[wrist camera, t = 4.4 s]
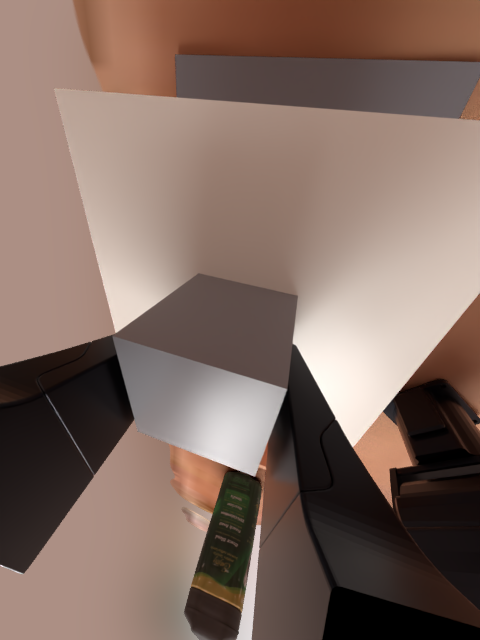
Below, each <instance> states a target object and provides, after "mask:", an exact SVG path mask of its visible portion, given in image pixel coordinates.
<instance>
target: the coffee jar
mask: <svg viewBox="0 0 480 640" xmlns="http://www.w3.org/2000/svg"><path fill="white" fill-rule="evenodd" d="M261 492H262V491H261V485H260V483H259V482H258V481H256V480H254V479H253V478H251V477H250V476H249V475H247V474H244V473H241V472H238V473H236V472H227V473H226V474H225V476H224V479H223V482H222V485H221V488H220V492H219V495H218V498H217V502H216V505H215V508H214V512H213V515H212V518H211V521H210V524H209V528H208V531H207V534H206V538H205V541H204V544H203V547H202V551H201V554H200V557H199V561H198V564H197V568H196V571H195V574H194V578H193V581H192V584H191V588H190V591H189V595H188V599H187V603H186V607H185V611H184V614H185V617H186V618H187V620H188V622H189V624H190V626H191V630H192V632H193V633H194V634H195V635H196V636H197V637H198V638H199V640H236V639H237V635H238V634H239V632H238V630H239V625H240V620H241V613H242V609H243V602H244V597H245V590H246V585H247V577H248V572H249V566H250V560H251V553H252V548H253V541H254V535H255V529H256V523H257V517H258V511H259V505H260V499H261Z"/></svg>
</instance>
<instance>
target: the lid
mask: <svg viewBox="0 0 480 640" xmlns="http://www.w3.org/2000/svg"><path fill="white" fill-rule="evenodd" d="M54 91H55V95H56V99H57V103H58V107H59V111H60V115H61V119H62V123H63V127H64V131H65V135H66V139H67V143H68V146H69V150H70V154H71V158H72V162H73V166H74V170H75V174H76V178H77V182H78V186H79V190H80V194H81V198H82V202H83V206H84V210H85V214H86V217H87V221H88V225H89V229H90V233H91V237H92V241H93V245H94V249H95V253H96V257H97V261H98V265H99V269H100V272H101V277H102V281H103V284H104V288H105V292H106V296H107V300H108V304H109V308H110V312H111V316H112V320H113V324H114V328H115V332H116V334H114V335H113V336H112V337H113V341H114V345H115V348H116V352H117V356H118V359H119V363H120V367H121V371H122V374H123V378H124V382H125V386H126V389H127V393H128V397H129V401H130V404H131V408H132V412H133V415H134V419H135V423H136V427H137V430H138V432H140V433H143V434H145V435H148V436H151V437H153V438H156V439H158V440H161V441H164V442H166V443H169V444H171V445H174V446H177V447H179V448H182V449H184V450H187V451H190V452H192V453H195V454H197V455H200V456H203V457H205V458H208V459H210V460H213V461H216V462H218V463H221V464H223V465H226V466H229V467H231V468H234V469H236V470H239V471H242V472H244V473H247V474H249V475H252V476H255V475H256V472H257V470H258V467H259V464H260V462H261V459H262V456H263V453H264V451H265V448H266V445H267V443H268V440H269V437H270V435H271V432H272V429H273V426H274V424H275V421H276V418H277V416H278V413H279V410H280V408H281V405H282V402H283V399H284V397H285V394H286V391H287V387H288V379H289V370H290V361H291V353H292V344H294V345H296V346H297V348H298V349H299V351H300V353H301V355H302V357H303V359H304V360H305V362H306V364H307V366H308V368H309V370H310V371H311V373H312V375H313V377H314V379H315V381H316V382H317V384H318V386H319V388H320V390H321V392H322V393H323V395H324V397H325V399H326V401H327V403H328V404H329V406H330V408H331V410H332V412H333V414H334V415H335V417H336V419H335V420H337V421H338V423H339V424H340V426H341V428H342V430H343V432H344V433H345V435H346V437H347V439H348V440H349V442H350V444H351V446H352V447H354V446H355V444H356V443H357V442H358V441H359V439H360V438H361V437H362V436H363V435H364V433H365V432H366V431H367V430H368V429H369V427H370V426H371V425H372V424H373V422H374V421H375V420H376V419H377V418H378V416H379V415H380V414H381V413H382V411H383V410H384V409H385V408H386V407H387V405H388V404H389V403H390V402H391V400H392V399H393V398H394V397H395V396H396V394H397V393H398V392H399V391H400V390H401V388H402V387H403V386H404V385H405V383H406V382H407V381H408V380H409V379H410V377H411V376H412V375H413V374H414V372H415V371H416V370H417V369H418V368H419V366H420V365H421V364H422V363H423V362H424V360H425V359H426V358H427V357H428V355H429V354H430V353H431V352H432V351H433V349H434V348H435V347H436V346H437V344H438V343H439V342H440V341H441V340H442V338H443V337H444V336H445V335H446V333H447V332H448V331H449V330H450V329H451V327H452V326H453V325H454V324H455V323H456V321H457V320H458V319H459V318H460V316H461V315H462V314H463V313H464V312H465V310H466V309H467V308H468V307H469V305H470V304H471V303H472V302H473V301H474V299H475V298H476V297H477V296H478V295H479V293H480V120H468V119H454V118H441V117H428V116H415V115H402V114H389V113H375V112H362V111H349V110H336V109H323V108H309V107H296V106H283V105H270V104H257V103H244V102H230V101H217V100H204V99H191V98H178V97H165V96H151V95H138V94H125V93H112V92H99V91H84V90H72V89H59V88H54Z"/></svg>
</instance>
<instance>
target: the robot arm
mask: <svg viewBox="0 0 480 640" xmlns="http://www.w3.org/2000/svg"><path fill="white" fill-rule="evenodd" d="M112 336H113V335H111V336H107V337H104V338H101V339H98V340H94V341H92V343H91V342H88V343H85V344H81V345H79V346H75V347H72V348H68V349H65V350H61V351H58V352H55V353H50V354H47V355H43V356H39V357H35V358H32V359H27V360H24V361H20V362H16V363H12V364H8V365H4V366H0V566H2V567H5V568H7V569H10V570H13V571H15V572H17V573H20V574H24V573H25V571H26V570H27V569H28V568H29V566H30V565H31V564H32V562H33V561H34V560H35V558H36V557H37V555H38V554H39V552H40V551H41V550H42V548H43V547H44V546H45V544H46V543H47V541H48V540H49V539H50V537H51V536H52V534H53V533H54V532H55V530H56V529H57V527H58V526H59V525H60V523H61V522H62V520H63V519H64V518H65V516H66V515H67V513H68V512H69V511H70V509H71V508H72V506H73V505H74V504H75V502H76V501H77V499H78V498H79V497H80V495H81V494H82V492H83V491H84V490H85V488H86V487H87V485H88V484H89V483H90V481H91V480H92V478H93V477H94V475H95V474H96V473H97V471H98V470H99V468H100V467H101V466H102V464H103V463H104V461H105V460H106V458H107V457H108V456H109V454H110V453H111V452H112V450H113V449H114V447H115V446H116V444H117V443H118V441H119V440H120V439H121V437H122V436H123V435H124V433H125V432H126V431H127V429H128V428H129V426H130V425H131V424H132V422H133V421H134V415H133V412H132V408H131V404H130V401H129V397H128V393H127V389H126V386H125V382H124V378H123V374H122V371H121V367H120V363H119V359H118V356H117V352H116V348H115V345H114V341H113V337H112ZM383 412H384V413H385V414H386V415H387V416H388V417H389V418H390V419H391V420H392V421H393V422H394V423H395V424H396V425H397V426H398V428H399V431H400V433H401V436H402V439H403V441H404V444H405V446H406V449H407V452H408V454H409V457H410V460H411V462H412V465H413V466H410V467H404V468H398V469H397V468H391V469H389V470H390V483H391V493H392V503H393V509H392V507H391V506H390V504H389V503H388V501H387V500H386V498H385V497H384V495H383V494H382V492H381V491H380V489H379V488H378V486H377V485H376V483H375V482H374V480H373V479H372V477H371V476H370V474H369V473H368V471H367V469H366V468H365V466H364V465H363V463H362V462H361V460H360V458H359V457H358V455H357V454H356V452H355V451H354V449H353V447H352V446H351V444H350V442H349V440H348V439H347V437H346V435H345V433H344V432H343V430H342V428H341V426H340V424H339V423H338V421H337V420H335V419H336V417H335V415H334V414H333V412H332V410H331V408H330V406H329V404H328V403H327V401H326V399H325V397H324V395H323V393H322V392H321V390H320V388H319V386H318V384H317V382H316V381H315V379H314V377H313V375H312V373H311V371H310V370H309V368H308V366H307V364H306V362H305V360H304V359H303V357H302V355H301V353H300V351H299V349H298V348H297V346H296V345H294V344H292V353H291V361H290V370H289V379H288V387H287V391H286V394H285V397H284V399H283V402H282V405H281V408H280V410H279V413H278V416H277V418H276V421H275V424H274V426H273V429H272V432H271V435H270V437H269V440H268V449H267V461H266V474H265V486H264V498H263V510H262V522H261V534H260V546H259V547H260V550H259V558H258V570H257V583H256V595H255V607H254V620H253V631H252V640H480V431H479V430H478V428H477V427H476V424H479V423H480V418H479V417H478V416H477V415H476V413H475V412H474V411H473V410H472V409H471V408H470V407H469V406H468V404H467V403H466V402H465V401H464V400H463V399H462V398H461V397H460V395H459V394H458V393H457V392H456V391H455V390H454V389H453V388H452V386H451V385H450V384H449V383H448V382H447V381H446V380H441V379H440V380H436V381H434V382H431V383H428V384H425V385H422V386H419V387H416V388H413V389H410V390H407V391H404V392H401V393H398V394H396V396H395V397H394V398H393V399H392V400H391V402H390V403H389V404H388V405H387V407H386V408H385V409H384V410H383Z"/></svg>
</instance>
